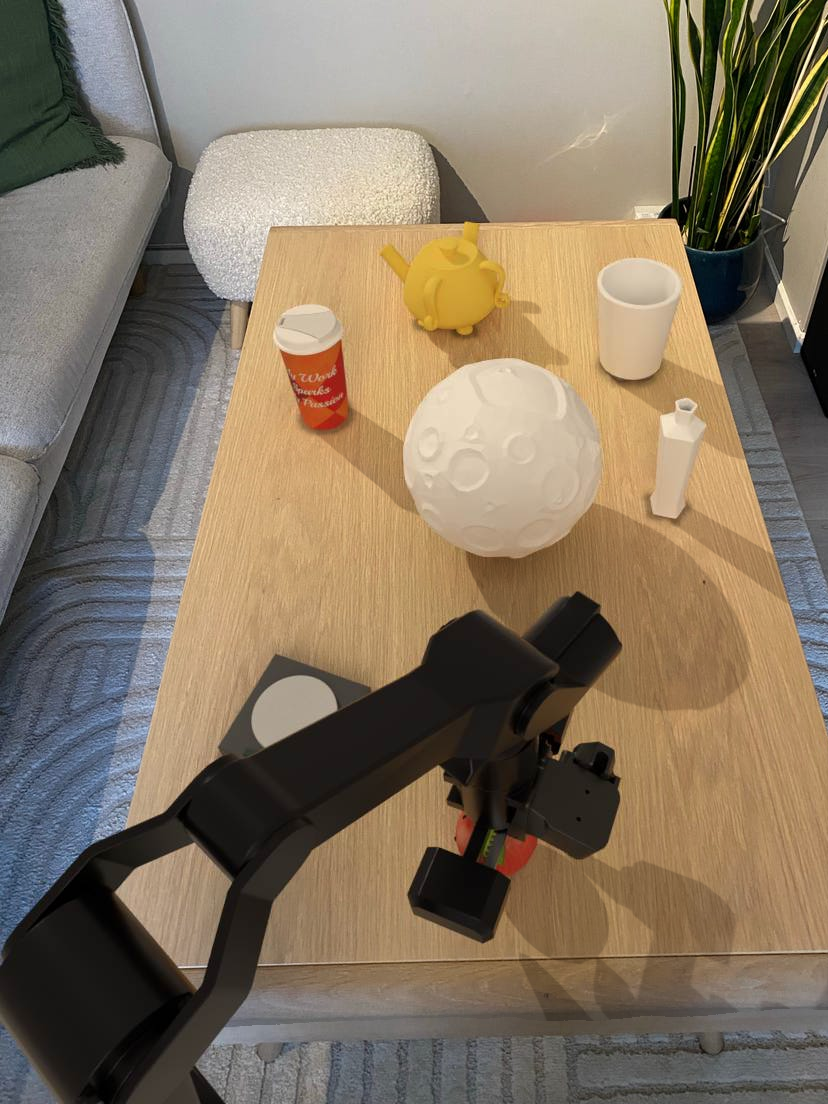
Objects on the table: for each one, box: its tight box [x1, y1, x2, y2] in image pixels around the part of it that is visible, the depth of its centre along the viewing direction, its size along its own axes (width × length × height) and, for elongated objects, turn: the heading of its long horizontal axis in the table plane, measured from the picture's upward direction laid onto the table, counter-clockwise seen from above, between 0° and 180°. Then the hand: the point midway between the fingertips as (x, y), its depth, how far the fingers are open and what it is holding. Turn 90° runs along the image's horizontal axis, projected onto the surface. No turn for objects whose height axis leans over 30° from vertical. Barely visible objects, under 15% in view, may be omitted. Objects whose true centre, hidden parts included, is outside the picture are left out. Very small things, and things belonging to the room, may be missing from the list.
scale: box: [217, 653, 372, 758], centre depth 82 cm, size 10×10×3 cm
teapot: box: [378, 221, 511, 335], centre depth 119 cm, size 14×14×11 cm
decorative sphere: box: [402, 357, 603, 560], centre depth 92 cm, size 20×20×20 cm
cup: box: [596, 257, 684, 383], centre depth 110 cm, size 10×10×13 cm
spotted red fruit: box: [453, 811, 539, 877], centre depth 71 cm, size 8×7×10 cm
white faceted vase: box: [649, 397, 708, 519], centre depth 94 cm, size 5×4×15 cm
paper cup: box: [272, 303, 349, 431], centre depth 106 cm, size 8×8×14 cm
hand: (498, 837), depth 72 cm, fingers open, 9 cm apart
